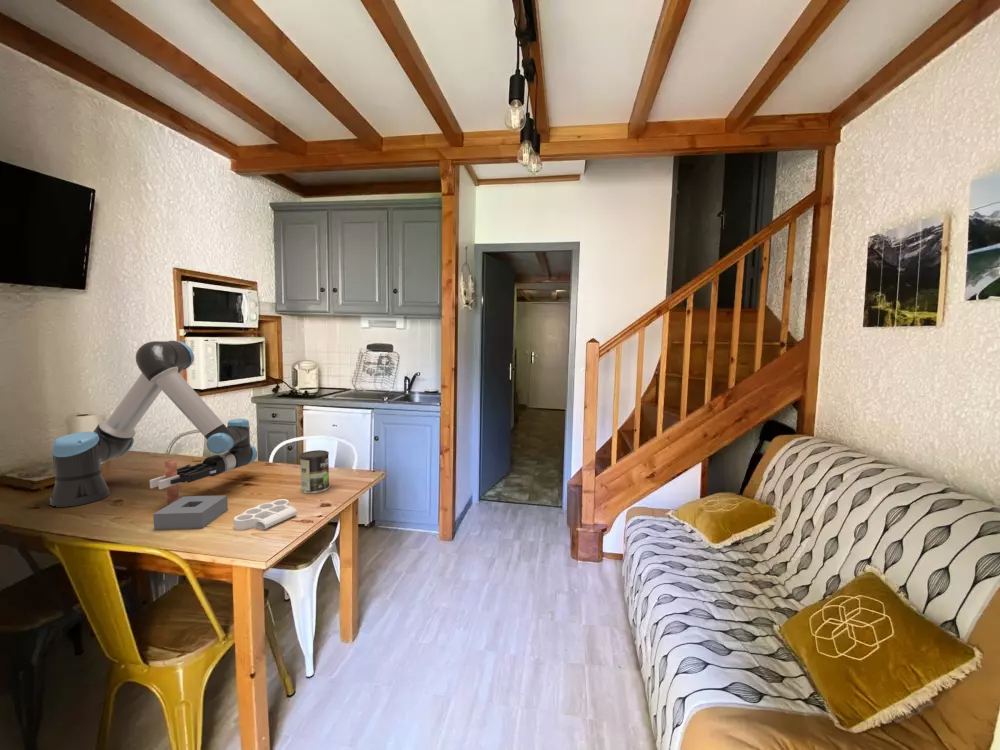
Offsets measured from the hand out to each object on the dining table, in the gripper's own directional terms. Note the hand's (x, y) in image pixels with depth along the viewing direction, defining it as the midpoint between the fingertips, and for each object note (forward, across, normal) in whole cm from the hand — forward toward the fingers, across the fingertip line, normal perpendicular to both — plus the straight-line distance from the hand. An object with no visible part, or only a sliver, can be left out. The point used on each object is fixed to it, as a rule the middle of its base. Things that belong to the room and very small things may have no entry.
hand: (155, 484), depth 138 cm
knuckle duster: (-6, -38, -10) cm, 40 cm away
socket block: (0, -16, -10) cm, 19 cm away
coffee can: (-33, -36, -10) cm, 50 cm away
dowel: (-5, 0, -10) cm, 11 cm away
